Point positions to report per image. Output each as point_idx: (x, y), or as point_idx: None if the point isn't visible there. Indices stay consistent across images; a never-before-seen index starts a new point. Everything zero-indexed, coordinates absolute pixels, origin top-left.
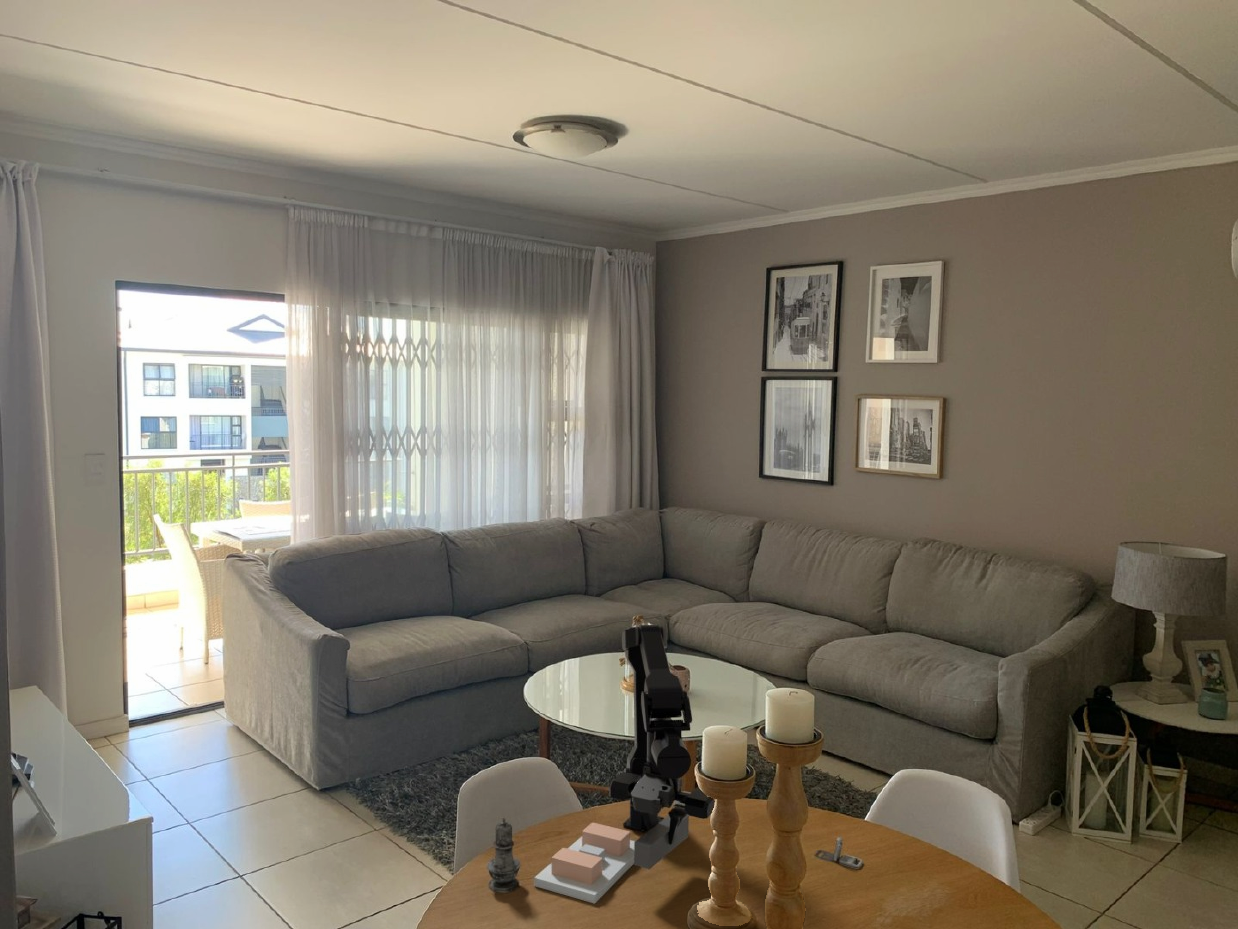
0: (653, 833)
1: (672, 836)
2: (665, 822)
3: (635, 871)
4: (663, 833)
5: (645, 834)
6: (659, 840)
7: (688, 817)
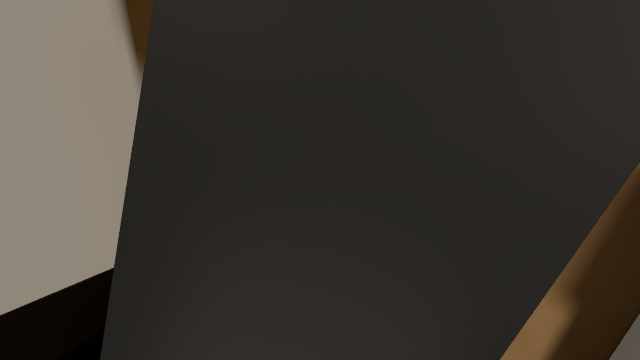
0: (330, 321)
1: (57, 303)
2: None
3: (620, 221)
4: (145, 329)
5: (521, 270)
6: (159, 95)
7: None
